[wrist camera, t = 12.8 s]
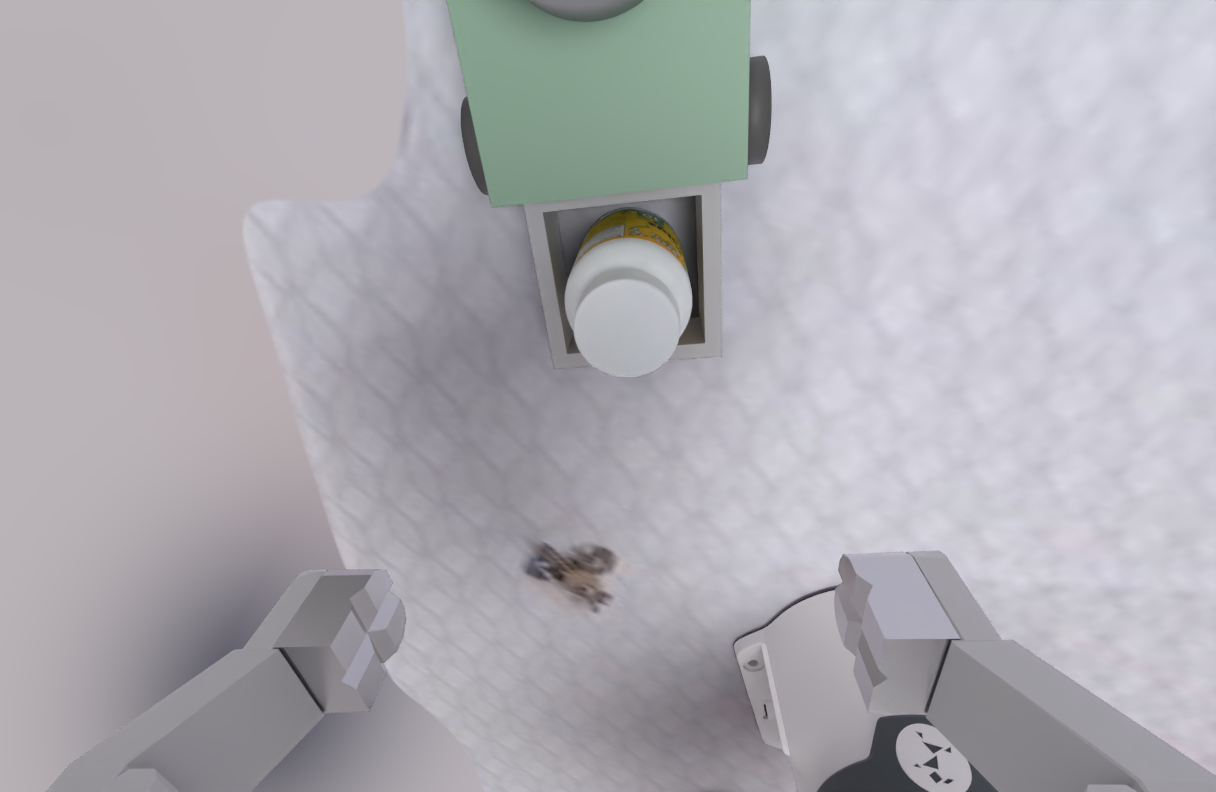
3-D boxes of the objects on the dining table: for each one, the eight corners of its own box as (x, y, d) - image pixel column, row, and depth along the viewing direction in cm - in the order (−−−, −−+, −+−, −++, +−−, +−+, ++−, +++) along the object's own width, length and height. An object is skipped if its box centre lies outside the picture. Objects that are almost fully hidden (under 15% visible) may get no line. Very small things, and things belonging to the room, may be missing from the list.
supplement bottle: (561, 239, 27) (524, 303, 19) (652, 184, 25) (655, 228, 17) (614, 323, 29) (601, 413, 21) (700, 277, 28) (723, 356, 19)
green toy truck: (748, 326, 29) (791, 425, 20) (531, 343, 30) (485, 443, 22) (761, -289, 18) (871, -656, 9) (416, -216, 19) (225, -472, 10)
